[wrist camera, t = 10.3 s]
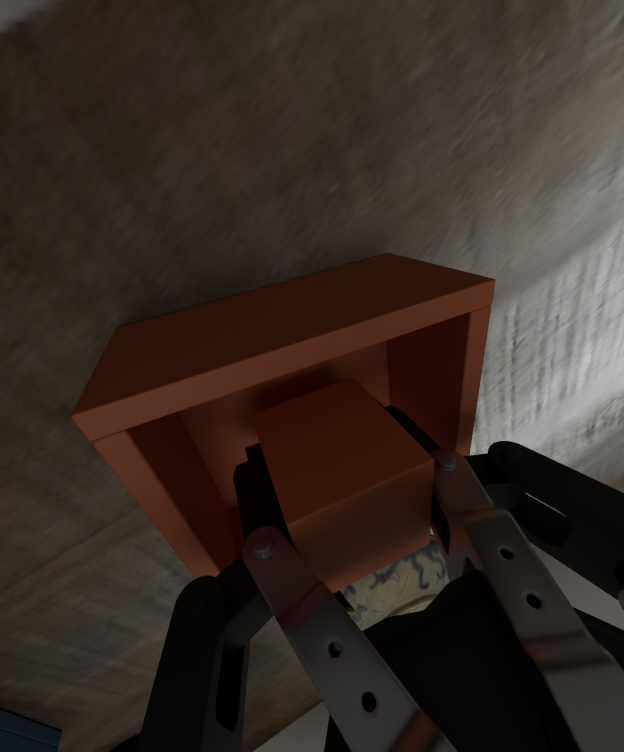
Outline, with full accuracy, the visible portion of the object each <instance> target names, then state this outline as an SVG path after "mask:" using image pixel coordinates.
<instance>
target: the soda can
mask: <svg viewBox="0 0 624 752" xmlns="http://www.w3.org/2000/svg"><path fill="white" fill-rule="evenodd" d="M138 741H139V737H138V738H136V739H133V740H131V741H129V742H127V743H126V744H124V745H123V746H121V747H120V748H119V749H117V750H116V751H115V752H136V748H137V744H138Z"/></svg>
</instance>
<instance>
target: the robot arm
mask: <svg viewBox="0 0 624 752" xmlns="http://www.w3.org/2000/svg"><path fill="white" fill-rule="evenodd" d="M376 400H377V399H376ZM377 401H378V400H377ZM378 402H379V401H378ZM379 404H380V405H381V406H382V407H383V408H384V409H385V410H386V411H387V412H388V413H389V414H390V415H391V416H392V417H393V418H394V419H395V420H396V421H397V422H398V423H399V424H400V425H401V426H402V427H403V428H404V429H405V430H406V431H407V432H408V433H409V434H410V435H411V436H412V437H413V438H414V439H415V440H416V441H417V442H418V443H419V444H420V445H421V446H422V447H423V448H424V449H425V450H426V452H427V453H428V454H429V455H430V456H431V457H432V458H433V459H434V476H433V493H432V509H431V528H432V531H433V533H434V536H435V538H436V541H437V543H438V546H439V548H440V550H441V553H442V555H443V558H444V561H445V565H446V570H447V575H448V579H449V583H448V584H447V585H446V586H445V587H444V588H443V589H442V590H441V591H440V593H439V594H438V595H437V596H436V597H435V598H434V599H433V601H432V602H431V603H430V604H429V605H428V606H427V607H426V608H425V609H424V610H422V611H418V612H413V613H407V614H402V615H396V616H391V617H386V618H385V619H383V620H381V621H379V622H377V623H376V624H374V625H372V626H370V627H368V628H367V629H365V630H363V631H361V629H360V628H359V627H358V626H357V624H356V623H355V622H354V620H353V619H352V618H351V616H350V615H349V614H348V612H347V611H346V610H345V608H344V607H343V606H342V605H341V603H340V602H339V601H338V599H337V598H336V597H335V595H334V594H333V593H332V591H331V590H330V589H329V588H328V587H327V585H326V584H325V583H324V582H322V581H319V580H318V579H317V577H316V576H315V575H314V574H313V572H312V571H311V570H310V568H309V567H308V566H307V564H306V563H305V562H304V560H303V559H302V558H301V556H300V555H299V554H298V552H297V551H296V550H295V547H294V544H293V542H292V539H291V536H290V534H289V531H288V528H287V526H286V523H285V520H284V516H283V513H282V510H281V507H280V504H279V501H278V498H277V495H276V492H275V489H274V486H273V482H272V479H271V476H270V473H269V470H268V467H267V464H266V461H265V458H264V455H263V452H262V448H261V445H260V442H259V443H256V444H254V445H251V446H249V447H246V448H245V451H246V455H247V459H248V461H246V462H243V463H241V464H238V465H236V468H235V471H234V475H233V481H234V486H235V491H236V497H237V502H238V507H239V513H240V518H241V523H242V529H243V534H244V541H243V546H242V548H241V551H240V553H239V554H238V556H237V558H236V559H235V560H234V561H233V562H232V563H231V564H230V565H229V566H228V567H227V568H226V569H224V570H223V571H222V572H221V573H220V574H219V575H217V576H216V577H214V576H210V575H205V576H201V577H198V578H196V579H194V580H193V581H191V582H190V583H189V584H188V585H187V586H186V587H185V588H184V589H183V590H182V592H181V593H180V595H179V596H178V598H177V601H176V603H175V606H174V610H173V614H172V617H171V621H170V625H169V629H168V632H167V636H166V640H165V644H164V647H163V651H162V655H161V659H160V662H159V666H158V670H157V674H156V677H155V681H154V685H153V688H152V692H151V696H150V700H149V703H148V707H147V711H146V715H145V718H144V722H143V726H142V730H141V733H140V737H139V741H138V744H137V748H136V752H241V745H242V733H243V721H244V709H245V697H246V685H247V673H248V661H249V649H250V639H251V638H252V637H253V636H254V635H255V634H256V633H257V632H258V631H259V630H260V629H261V628H262V627H263V625H264V624H265V623H266V622H267V621H268V620H269V619H270V618H271V617H272V616H273V615H274V616H275V618H276V620H277V622H278V623H279V625H280V627H281V629H282V630H283V632H284V634H285V636H286V637H287V639H288V641H289V643H290V644H291V646H292V648H293V650H294V651H295V653H296V655H297V657H298V659H299V660H300V662H301V664H302V666H303V667H304V669H305V671H306V673H307V674H308V676H309V678H310V680H311V681H312V683H313V685H314V687H315V689H316V690H317V692H318V694H319V696H320V697H321V699H322V701H323V703H324V704H325V706H326V708H327V710H328V711H329V713H330V716H329V723H328V729H327V735H326V743H325V748H324V752H624V630H622V629H620V628H617V627H615V626H613V625H611V624H609V623H607V622H604V621H602V620H600V619H598V618H596V617H593V616H591V615H589V614H587V613H585V612H583V611H580V610H578V609H576V608H574V607H572V606H571V604H570V603H569V601H568V600H567V598H566V597H565V595H564V594H563V592H562V591H561V589H560V588H559V586H558V585H557V583H556V581H555V580H554V579H553V577H552V575H551V574H550V572H549V571H548V569H547V568H546V566H545V565H544V563H543V562H542V560H541V559H540V557H539V556H538V554H537V553H536V551H535V550H534V548H533V547H532V545H531V544H530V542H531V543H533V544H534V545H536V546H537V547H539V548H540V549H542V550H543V551H545V552H546V553H548V554H549V555H551V556H552V557H554V558H555V559H557V560H558V561H560V562H561V563H563V564H564V565H566V566H567V567H569V568H571V569H572V570H573V571H575V572H576V573H578V574H579V575H581V576H582V577H584V578H585V579H587V580H589V581H590V582H591V583H593V584H594V585H596V586H597V587H599V588H600V589H602V590H604V591H605V592H606V593H608V594H610V595H611V596H612V597H614V598H616V599H617V600H619V603H620V605H621V606H622V608H623V610H624V493H622V492H620V491H618V490H616V489H614V488H612V487H610V486H608V485H605V484H603V483H601V482H599V481H597V480H595V479H593V478H590V477H588V476H586V475H584V474H582V473H580V472H578V471H576V470H573V469H571V468H569V467H567V466H565V465H563V464H561V463H558V462H556V461H554V460H552V459H550V458H548V457H546V456H543V455H541V454H539V453H537V452H535V451H533V450H531V449H529V448H526V447H524V446H522V445H520V444H517V443H514V442H510V441H499V442H495V443H493V444H492V445H491V446H490V447H489V449H488V454H479V455H471V456H462V455H461V454H460V453H458V452H456V451H454V450H450V449H442V448H441V447H440V446H439V445H438V444H437V443H436V442H435V441H434V440H433V439H432V438H431V437H430V436H428V435H427V434H426V433H425V432H424V431H423V430H422V429H421V428H420V427H419V426H418V425H416V423H415V422H414V421H413V420H412V419H410V418H409V417H408V416H407V415H406V414H405V413H404V412H403V411H402V410H400V409H398V408H396V407H394V406H391V405H390V406H387V407H384V406H383V405H382V404H381V403H380V402H379ZM525 493H528V494H530V495H531V496H533V497H535V498H537V499H538V500H540V501H542V502H544V503H546V504H547V505H549V506H551V507H553V508H554V509H556V510H558V511H560V512H561V513H563V514H564V515H565V516H564V515H562V514H560V513H558V512H557V511H555V510H553V509H551V508H550V507H548V506H546V505H544V504H542V503H541V502H539V501H537V500H535V499H534V498H532V497H530V496H528V495H527V494H525ZM529 541H530V542H529Z"/></svg>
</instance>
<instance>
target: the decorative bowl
mask: <svg viewBox="0 0 624 752" xmlns="http://www.w3.org/2000/svg"><path fill="white" fill-rule="evenodd" d="M448 583H449V579H448V575H447V570H446V565H445V561H444V558H443V555H442V553H441V550H440V548H439V546H438V543H437V541H436V539H435V537H433V536H430V542H429V544H428V545H426V546H424V547H422V548H420V549H418V550H417V551H415V552H413V553H411V554H409V555H407V556H405V557H403V558H401V559H399V560H397V561H395V562H393V563H391V564H389V565H387V566H385V567H383V568H381V569H380V570H378V571H376V572H374V573H372V574H370V575H368V576H366V577H364V578H362V579H360V580H358V581H356V582H354V583H352V584H350V585H348V586H346V587H344V588H342V589H341V590H340V591H341V593H342V594H343V595H344V597H345V598H346V600H347V601H348V602H349V603H350V604H351V606H352V607H344V608H345V610H346V611H347V612H348V614H349V615H350V616H351V618H352V619H353V620H354V622H355V623H356V624H357V626H358V627H359V628H360V629H361V631H363V630H365V629H367V628H368V627H370V626H372V625H374V624H376V623H377V622H379V621H381V620H383V619H385V618H386V617H391V616H396V615H402V614H407V613H413V612H418V611H422V610H424V609H425V608H426V607H427V606H428V605H429V604H430V603H431V602H432V601H433V599H434V598H435V597H436V596H437V595H438V594H439V593H440V591H441V590H442V589H443V588H444V587H445V586H446V585H447V584H448Z"/></svg>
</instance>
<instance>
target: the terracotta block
mask: <svg viewBox="0 0 624 752" xmlns="http://www.w3.org/2000/svg"><path fill="white" fill-rule="evenodd" d="M251 418H252V421H253V424H254V427H255V430H256V433H257V436H258V439H259V442H260V445H261V448H262V452H263V455H264V458H265V461H266V464H267V467H268V470H269V473H270V476H271V479H272V482H273V486H274V489H275V492H276V495H277V498H278V501H279V504H280V507H281V510H282V513H283V516H284V520H285V523H286V526H287V528H288V531H289V534H290V536H291V539H292V542H293V544H294V547H295V550H296V551H297V552H298V554H299V555H300V556H301V558H302V559H303V560H304V562H305V563H306V564H307V566H308V567H309V568H310V570H311V571H312V572H313V574H314V575H315V576H316V577H317V579H318V580H319V581H322V582H324V583H325V584H326V585H327V587H328V588H329V589H330V590H331V591H332V593H335V592H337V591H339V590H341V589H342V588H344V587H346V586H348V585H350V584H352V583H354V582H356V581H358V580H360V579H362V578H364V577H366V576H368V575H370V574H372V573H374V572H376V571H378V570H380V569H381V568H383V567H385V566H387V565H389V564H391V563H393V562H395V561H397V560H399V559H401V558H403V557H405V556H407V555H409V554H411V553H413V552H415V551H417V550H418V549H420V548H422V547H424V546H426V545H428V544H429V542H430V526H431V509H432V493H433V476H434V459H433V458H432V457H431V456H430V455H429V454H428V453H427V452H426V450H425V449H424V448H423V447H422V446H421V445H420V444H419V443H418V442H417V441H416V440H415V439H414V438H413V437H412V436H411V435H410V434H409V433H408V432H407V431H406V430H405V429H404V428H403V427H402V426H401V425H400V424H399V423H398V422H397V421H396V420H395V419H394V418H393V417H392V416H391V415H390V414H389V413H388V412H387V411H386V410H385V409H384V408H383V407H382V406H381V405H380V404H379V402H378V401H377V400H376V399H375V398H374V397H373V396H372V395H371V394H370V393H369V392H368V391H367V390H366V389H365V388H364V387H363V386H362V385H361V384H360V383H359V382H358V381H357V380H356V379H355V378H350V379H348V380H345V381H342V382H339V383H336V384H334V385H331V386H328V387H325V388H323V389H320V390H317V391H314V392H312V393H309V394H306V395H303V396H300V397H298V398H295V399H292V400H289V401H287V402H284V403H281V404H278V405H276V406H273V407H270V408H267V409H264V410H262V411H259V412H256V413H253V414H252V415H251Z"/></svg>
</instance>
